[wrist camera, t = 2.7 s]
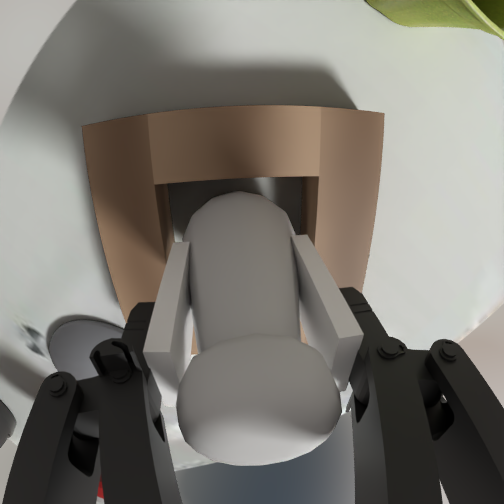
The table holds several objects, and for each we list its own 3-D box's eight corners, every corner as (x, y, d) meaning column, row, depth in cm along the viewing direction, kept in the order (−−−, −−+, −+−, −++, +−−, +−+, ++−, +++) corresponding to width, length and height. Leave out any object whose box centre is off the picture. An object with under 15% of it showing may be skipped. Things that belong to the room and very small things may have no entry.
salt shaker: (276, 169, 16) (398, 343, 5) (294, 257, 19) (371, 454, 7) (173, 196, 16) (93, 404, 5) (204, 280, 19) (196, 487, 7)
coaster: (80, 397, 24) (78, 401, 24) (32, 317, 19) (30, 322, 19) (178, 404, 25) (178, 409, 25) (150, 319, 20) (149, 325, 19)
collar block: (145, 324, 20) (137, 354, 18) (104, 121, 14) (81, 126, 11) (336, 311, 21) (350, 339, 19) (358, 110, 15) (384, 113, 12)
